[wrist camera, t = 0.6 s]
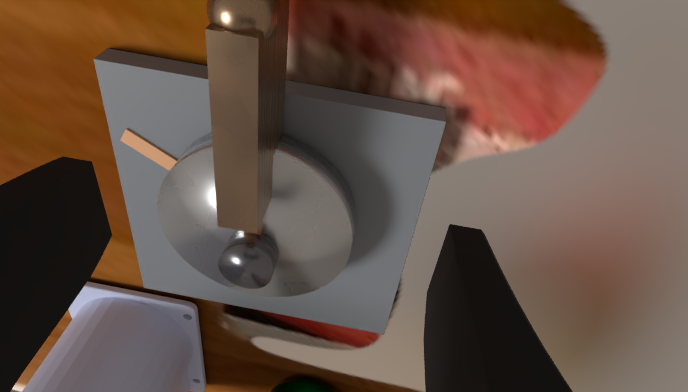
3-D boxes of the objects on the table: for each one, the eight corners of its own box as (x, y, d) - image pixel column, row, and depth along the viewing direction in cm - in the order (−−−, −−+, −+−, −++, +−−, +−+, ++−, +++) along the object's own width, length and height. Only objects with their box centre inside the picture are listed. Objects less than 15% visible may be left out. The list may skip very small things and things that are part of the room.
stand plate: (385, 318, 26) (383, 336, 26) (152, 273, 27) (143, 289, 26) (445, 108, 18) (446, 123, 17) (107, 48, 19) (92, 59, 18)
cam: (344, 286, 23) (332, 349, 21) (181, 254, 24) (149, 313, 21) (402, -27, 14) (394, 13, 12) (137, -72, 15) (69, -43, 12)
